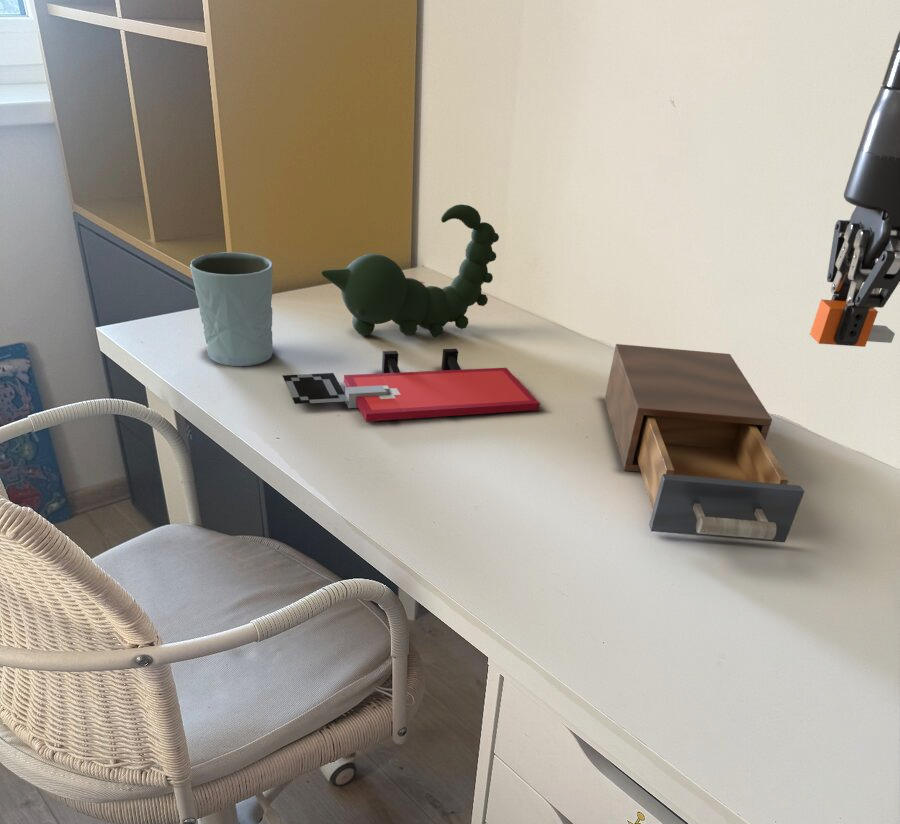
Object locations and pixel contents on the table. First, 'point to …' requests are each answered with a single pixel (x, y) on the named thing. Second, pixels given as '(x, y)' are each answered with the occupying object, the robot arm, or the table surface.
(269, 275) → the pale green cup
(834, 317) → the orange and grey block
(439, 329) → the toy figurine
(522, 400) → the red board with handle
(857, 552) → the table surface
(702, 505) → the drawer
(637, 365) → the cabinet
